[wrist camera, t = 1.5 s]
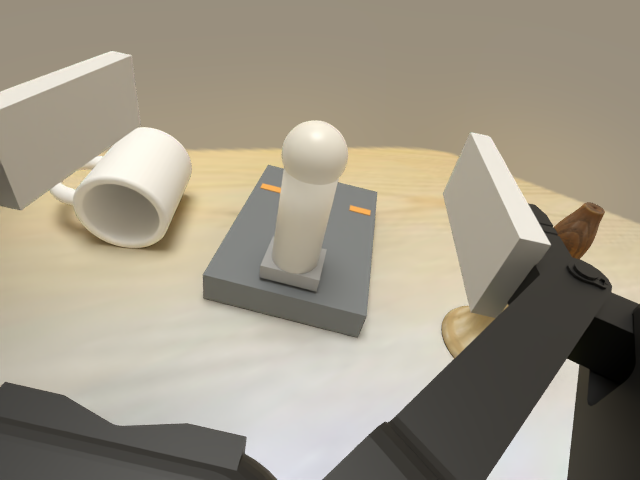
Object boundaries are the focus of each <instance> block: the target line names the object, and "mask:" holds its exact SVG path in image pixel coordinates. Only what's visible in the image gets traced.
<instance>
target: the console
mask: <svg viewBox="0 0 640 480" xmlns="http://www.w3.org/2000/svg"><path fill="white" fill-rule="evenodd" d="M283 171H284V169H283V168H279V167H275V166H271V165H268V166H267V168H266V169H265V171H264V173H263V174H262V176H261V178H260V179H259V181H258V183H257V184H256V186H255V188H254V190H253V191H252V193H251V195H250V196H249V198H248V200H247V201H246V203H245V205H244V206H243V208H242V210H241V211H240V213H239V215H238V216H237V218H236V220H235V221H234V223H233V225H232V227H231V228H230V230H229V232H228V233H227V235H226V237H225V238H224V240H223V242H222V243H221V245H220V247H219V248H218V250H217V252H216V253H215V255H214V257H213V258H212V260H211V262H210V264H209V265H208V267H207V269H206V270H205V272H204V274H203V298H205V299H209V300H213V301H216V302H220V303H224V304H228V305H232V306H236V307H240V308H244V309H248V310H252V311H256V312H260V313H264V314H267V315H271V316H275V317H279V318H283V319H287V320H291V321H295V322H299V323H303V324H307V325H311V326H315V327H318V328H322V329H326V330H330V331H334V332H338V333H342V334H346V335H350V336H354V337H358V335H359V333H360V331H361V328H362V326H363V323H364V321H365V319H366V316H367V305H368V293H369V282H370V270H371V259H372V247H373V235H374V224H375V212H376V201H377V192H375V191H371V190H367V189H363V188H359V187H355V186H351V185H347V184H343V183H339V182H338V183H337V187H336V191H335V195H334V199H333V203H332V207H331V211H330V215H329V219H328V223H327V227H326V231H325V235H324V239H323V243H322V247H321V248H323V249H327V251H326V255H325V259H324V263H323V267H322V272H321V276H320V280H319V284H318V288H317V291H312V290H308V289H304V288H300V287H296V286H292V285H288V284H284V283H280V282H276V281H272V280H268V279H264V278H261V277H259V274H260V265H261V263H262V261H263V258H264V256H265V254H266V251H267V249H268V247H269V244H270V242H271V240H272V237H273V236H275V229H276V221H277V214H278V207H279V200H280V193H281V185H282V178H283Z"/></svg>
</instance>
